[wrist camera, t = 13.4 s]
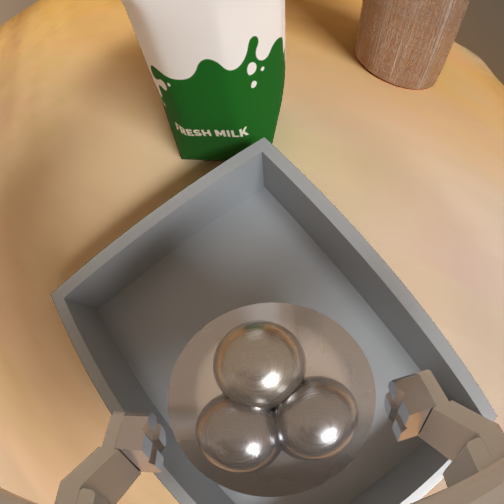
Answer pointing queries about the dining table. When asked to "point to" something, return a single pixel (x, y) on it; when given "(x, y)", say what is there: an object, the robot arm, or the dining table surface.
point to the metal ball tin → (271, 399)
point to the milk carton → (214, 69)
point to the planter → (407, 39)
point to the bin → (252, 292)
